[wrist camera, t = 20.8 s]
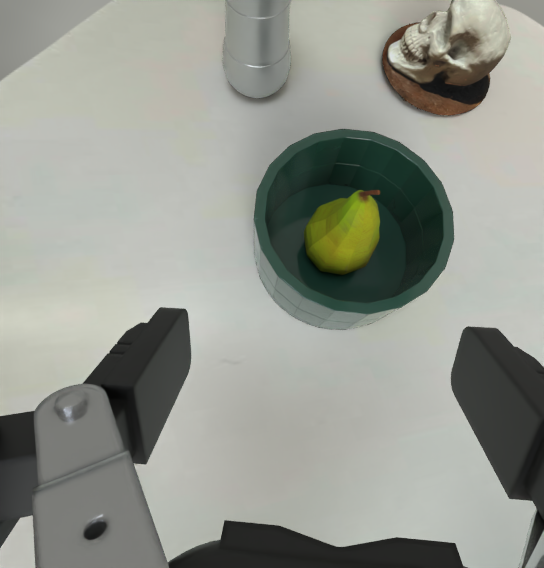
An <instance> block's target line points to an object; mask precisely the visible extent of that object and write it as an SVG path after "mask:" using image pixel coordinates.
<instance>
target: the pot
mask: <svg viewBox="0 0 544 568" xmlns="http://www.w3.org/2000/svg"><path fill="white" fill-rule="evenodd" d="M358 190H363V191H370V190H380V194H379V195H370V196H371V197H372V198H373V199H374V200H375V202H376V203H377V205H378V211H379V217H380V226H379V242H378V244H377V246H376V248H375V249H374V251H373V253H372V255H371V257H370V259H369V261H368V263H367V265H366V266H365V267H363V268H360V269H358V270H355V271H352V272H350V273H347V274H344V275H340V274H334V273H329V272H323V271H320V270H319V269H318V268H317V267H316V265H315V264H314V263H313V262H312V261H311V260H310V259H309V257H308V256H307V254H306V247H305V240H304V230H305V228H306V226H307V224H308V222H309V221H310V219H311V218H312V216H313V214H314V213H315V211H316V209H317V208H318V207H319V206H321V205H324V204H326V203H329V202H331V201H334V200H337V199H339V198H349V197H350V196H351V195H352V194H353V193H355V192H356V191H358ZM453 242H454V225H453V211H452V208H451V205H450V202H449V200H448V197H447V195H446V192H445V189H444V187H443V185H442V182H441V181H440V180H439V179H438V177H437V176H436V175H435V173H434V172H433V171H432V170H431V168H430V167H429V166H428V164H427V163H426V162H425V161H424V160H423V159H422V158H420V157H419V156H418V155H416V154H415V153H414V152H412V151H411V150H410V149H408V148H407V147H405V146H404V145H403V144H401V143H400V142H398V141H395V140H393V139H390V138H387V137H385V136H382V135H380V134H377V133H375V132H369V131H360V130H350V129H338V130H332V131H326V132H320V133H315V134H312V135H310V136H308V137H306V138H304V139H302V140H300V141H298V142H296V143H294V144H292V145H290V146H289V147H288V148H287V149H286V150H285V151H284V152H283V153H282V154H281V155H280V156H279V157H278V158H277V159H275V160H274V161H273V162H272V163H271V164H270V166H269V167H268V169H267V171H266V173H265V175H264V177H263V179H262V181H261V184H260V186H259V188H258V190H257V194H256V203H255V212H254V255H255V260H256V265H257V269H258V273H259V276H260V279H261V281H262V283H263V285H264V286H265V288H266V290H267V292H268V293H269V294H270V296H271V297H272V298H273V300H274V301H275V302H276V303H277V304H278V305H279V306H280V307H281V308H282V309H284V310H285V311H286V312H287V313H289V314H290V315H292V316H293V317H295V318H297V319H298V320H300V321H302V322H305V323H307V324H309V325H313V326H316V327H319V328H325V329H336V330H346V329H352V328H357V327H361V326H364V325H368V324H371V323H373V322H375V321H377V320H379V319H381V318H382V317H384V316H386V315H388V314H390V313H392V312H393V311H395V310H397V309H399V308H401V307H402V306H404V305H406V304H407V303H409V302H410V301H412V300H414V299H415V298H417V297H419V296H420V295H422V294H423V293H425V292H427V291H428V289H429V288H430V287H431V286H432V284H433V283H434V282H435V280H436V279H437V278H438V277H439V275H440V274H441V273H442V271H443V270H444V269H445V267H446V264H447V261H448V258H449V255H450V252H451V248H452V245H453Z"/></svg>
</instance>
